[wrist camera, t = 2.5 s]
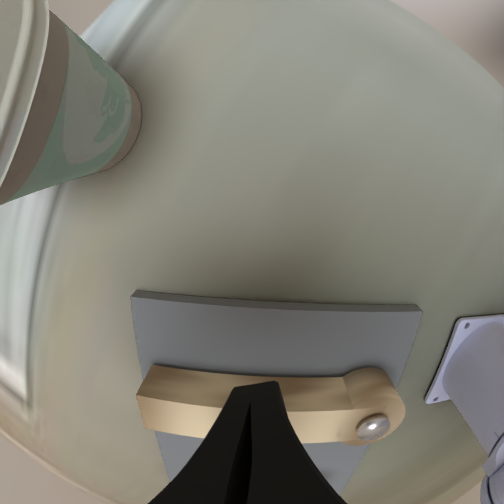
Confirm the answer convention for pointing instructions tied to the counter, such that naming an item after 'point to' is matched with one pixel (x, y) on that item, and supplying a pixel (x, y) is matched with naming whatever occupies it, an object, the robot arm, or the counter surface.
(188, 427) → the link
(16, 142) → the coffee cup
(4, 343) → the counter surface
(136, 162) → the counter surface
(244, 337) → the board
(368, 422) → the pintle
